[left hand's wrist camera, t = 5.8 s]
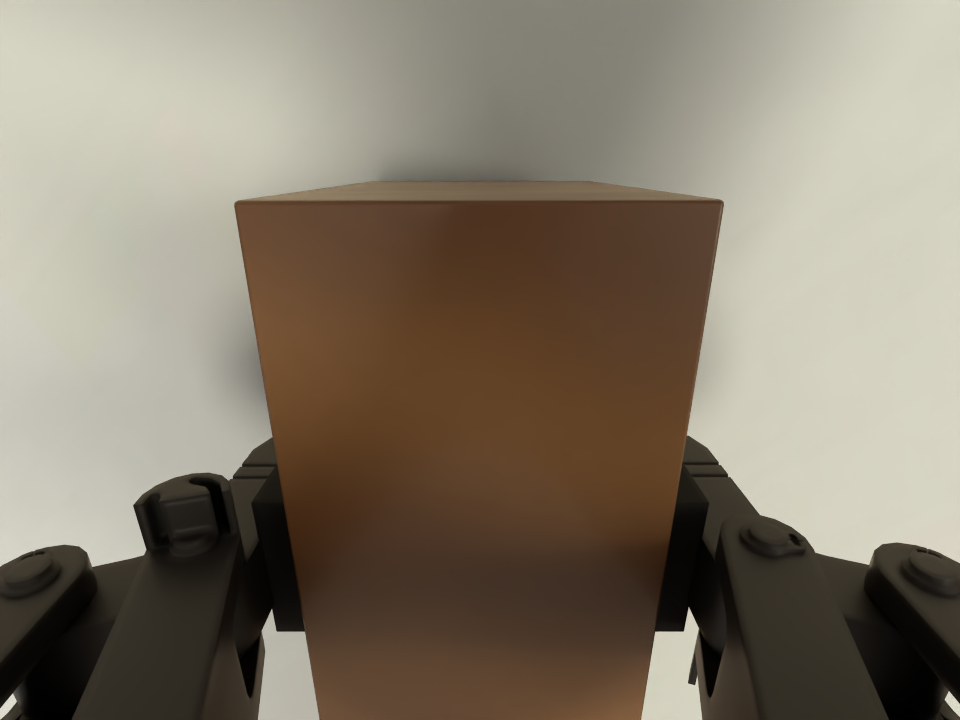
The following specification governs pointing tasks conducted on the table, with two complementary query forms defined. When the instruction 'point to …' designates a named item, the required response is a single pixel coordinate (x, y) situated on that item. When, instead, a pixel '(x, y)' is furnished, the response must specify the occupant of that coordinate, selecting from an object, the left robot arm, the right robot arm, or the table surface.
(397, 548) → the bar
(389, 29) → the table surface
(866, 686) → the left robot arm
